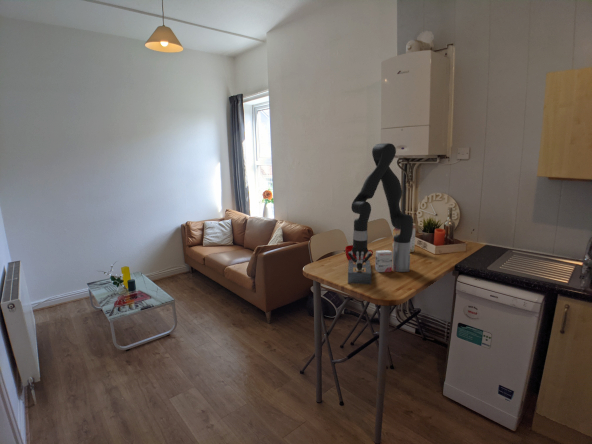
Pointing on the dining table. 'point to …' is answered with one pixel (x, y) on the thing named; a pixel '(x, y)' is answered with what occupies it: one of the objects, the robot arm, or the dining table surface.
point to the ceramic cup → (349, 248)
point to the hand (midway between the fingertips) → (359, 269)
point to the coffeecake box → (412, 241)
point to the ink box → (383, 261)
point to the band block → (359, 273)
